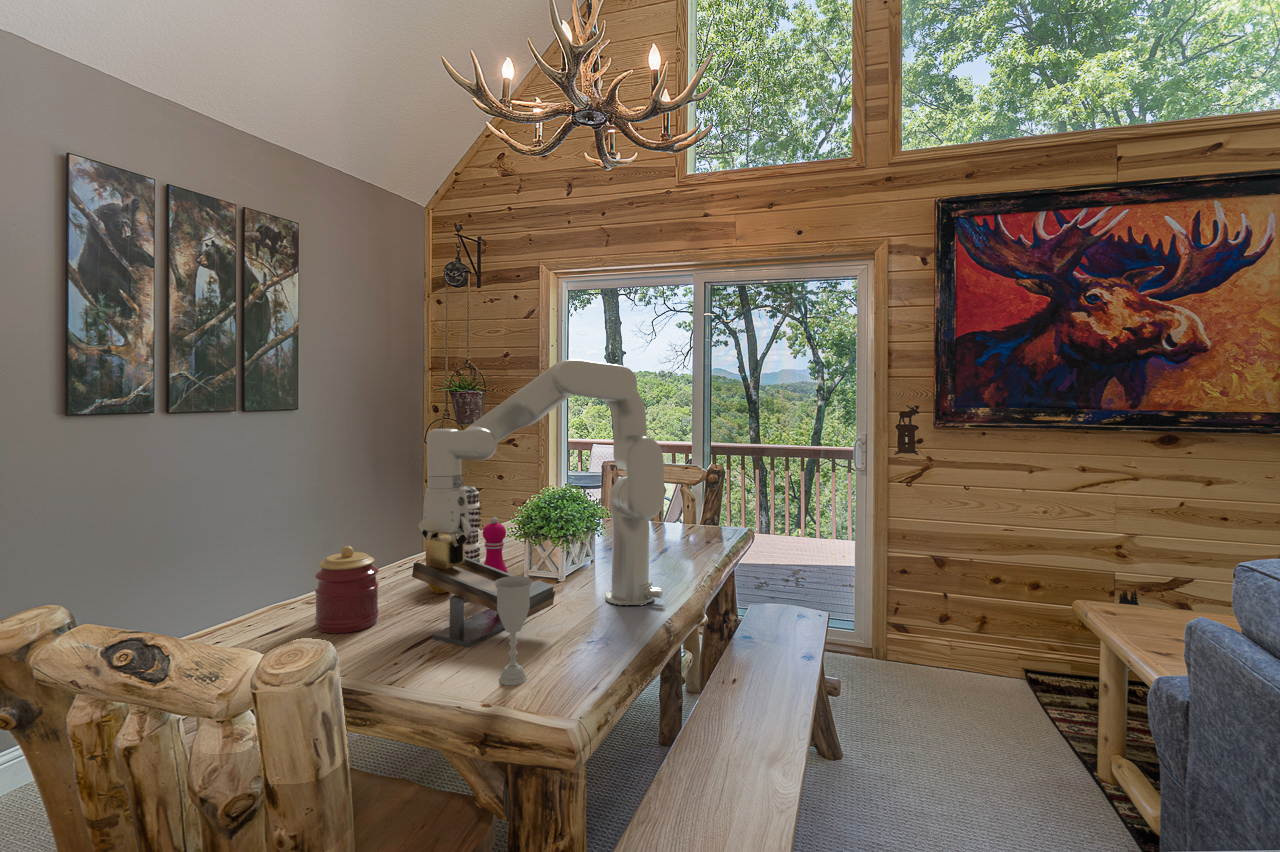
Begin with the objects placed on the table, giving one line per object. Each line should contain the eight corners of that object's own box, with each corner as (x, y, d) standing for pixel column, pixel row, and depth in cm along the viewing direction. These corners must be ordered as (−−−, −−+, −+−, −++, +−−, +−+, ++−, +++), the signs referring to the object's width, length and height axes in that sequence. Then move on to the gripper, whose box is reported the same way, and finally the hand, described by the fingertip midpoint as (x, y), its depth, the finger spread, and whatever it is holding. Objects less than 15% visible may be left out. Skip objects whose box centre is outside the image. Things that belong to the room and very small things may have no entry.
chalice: (496, 671, 120) (497, 576, 119) (533, 670, 120) (534, 575, 119) (491, 688, 112) (491, 587, 111) (530, 687, 113) (530, 587, 112)
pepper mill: (501, 597, 163) (501, 520, 163) (475, 595, 165) (475, 518, 164) (512, 589, 171) (512, 515, 170) (487, 587, 172) (487, 514, 171)
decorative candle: (476, 576, 182) (477, 489, 181) (444, 576, 183) (444, 489, 182) (485, 568, 192) (485, 485, 191) (454, 567, 192) (454, 485, 191)
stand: (526, 617, 149) (526, 578, 148) (469, 647, 131) (469, 603, 130) (492, 611, 153) (492, 573, 153) (431, 638, 135) (432, 595, 135)
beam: (553, 609, 141) (557, 584, 141) (518, 627, 130) (522, 600, 129) (450, 568, 154) (453, 545, 153) (409, 582, 142) (412, 557, 141)
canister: (391, 618, 147) (391, 542, 146) (348, 638, 135) (348, 555, 134) (346, 611, 151) (346, 538, 151) (301, 630, 139) (300, 549, 138)
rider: (464, 562, 148) (464, 537, 147) (446, 569, 142) (446, 542, 142) (444, 559, 150) (444, 534, 150) (425, 566, 145) (425, 539, 144)
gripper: (485, 483, 145) (486, 561, 146) (427, 478, 152) (428, 553, 153) (463, 487, 138) (464, 569, 139) (404, 482, 146) (405, 560, 146)
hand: (445, 560), depth 146 cm, fingers closed on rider, 6 cm apart
